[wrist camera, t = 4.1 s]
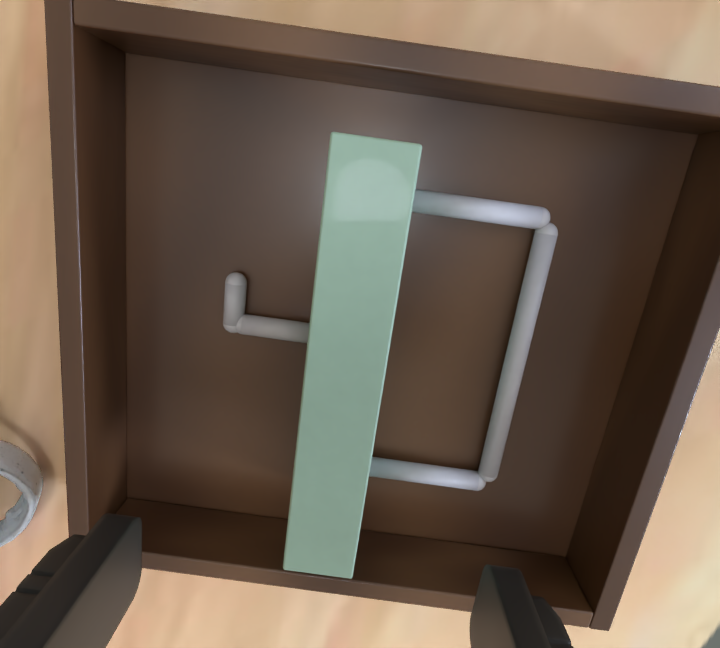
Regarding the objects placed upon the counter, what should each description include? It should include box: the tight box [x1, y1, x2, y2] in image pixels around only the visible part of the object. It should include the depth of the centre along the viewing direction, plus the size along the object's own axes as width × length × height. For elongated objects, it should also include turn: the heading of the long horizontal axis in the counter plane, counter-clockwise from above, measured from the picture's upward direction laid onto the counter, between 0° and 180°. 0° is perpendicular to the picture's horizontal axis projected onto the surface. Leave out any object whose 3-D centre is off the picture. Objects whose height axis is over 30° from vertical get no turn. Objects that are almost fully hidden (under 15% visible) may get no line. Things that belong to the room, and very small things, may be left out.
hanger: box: [223, 132, 558, 579], centre depth 17 cm, size 12×14×5 cm
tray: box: [44, 0, 720, 631], centre depth 18 cm, size 22×20×4 cm
